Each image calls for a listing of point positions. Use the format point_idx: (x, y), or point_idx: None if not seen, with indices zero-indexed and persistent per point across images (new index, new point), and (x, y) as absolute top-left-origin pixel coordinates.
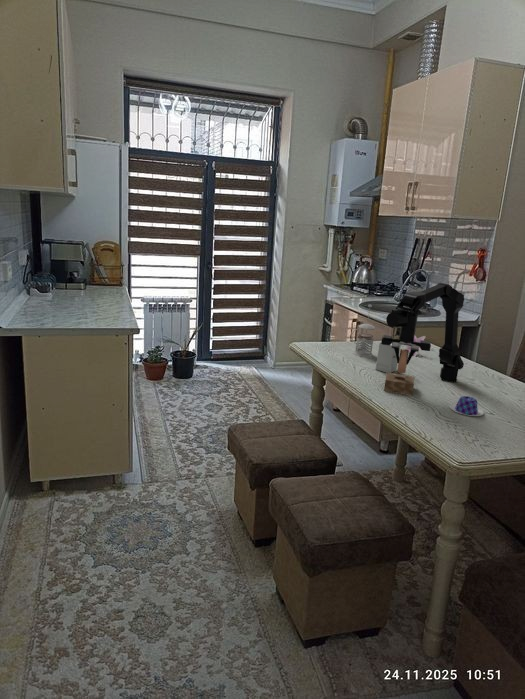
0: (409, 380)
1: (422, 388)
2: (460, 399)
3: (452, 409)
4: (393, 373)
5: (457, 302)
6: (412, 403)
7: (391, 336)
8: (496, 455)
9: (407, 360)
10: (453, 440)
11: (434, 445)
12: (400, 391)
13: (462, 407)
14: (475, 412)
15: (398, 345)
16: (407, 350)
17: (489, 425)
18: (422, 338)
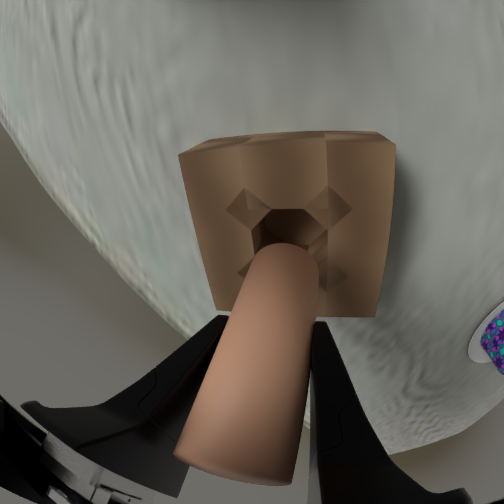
0: (356, 258)
1: (434, 129)
2: (499, 365)
3: (471, 345)
4: (226, 149)
5: None
6: (355, 350)
7: (5, 485)
8: (434, 439)
9: (310, 390)
10: (392, 437)
11: None
12: None
13: (491, 359)
14: None
15: (116, 473)
16: (271, 480)
17: (501, 376)
18: None
